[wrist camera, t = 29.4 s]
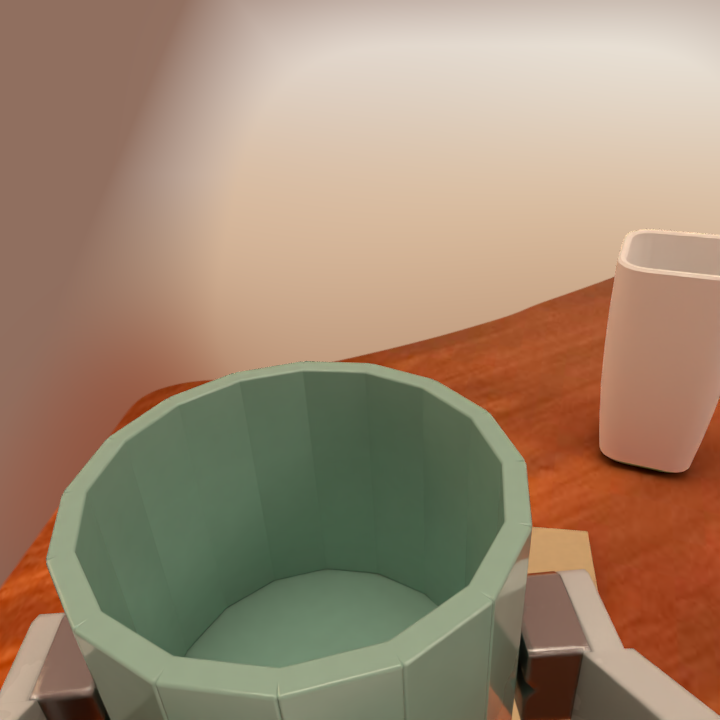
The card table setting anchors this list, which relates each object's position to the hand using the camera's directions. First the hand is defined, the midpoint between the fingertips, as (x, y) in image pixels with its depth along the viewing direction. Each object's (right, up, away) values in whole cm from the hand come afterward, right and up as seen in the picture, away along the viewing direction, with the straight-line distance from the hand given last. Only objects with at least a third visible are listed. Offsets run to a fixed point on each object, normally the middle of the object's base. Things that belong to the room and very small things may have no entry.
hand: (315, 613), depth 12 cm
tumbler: (0, -5, +2) cm, 5 cm away
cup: (+21, -2, +34) cm, 40 cm away
